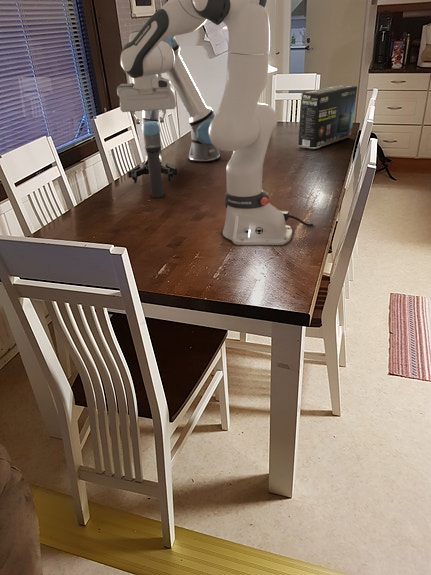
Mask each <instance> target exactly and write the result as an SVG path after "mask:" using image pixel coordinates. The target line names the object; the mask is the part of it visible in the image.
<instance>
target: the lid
mask: <svg viewBox="0 0 431 575" xmlns="http://www.w3.org/2000/svg"><path fill="white" fill-rule="evenodd" d="M159 151H160V147H159V145H148V146H146V152H148V153H155V152H159Z"/></svg>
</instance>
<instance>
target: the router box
mask: <svg viewBox="0 0 431 575" xmlns="http://www.w3.org/2000/svg"><path fill="white" fill-rule="evenodd" d="M357 93H358V86H356V85H350V84H339V85H338V84H337V85H334V86H328V87H324V88H318V89H314V90H309V91H304V92H301V93H300V109H299V110H300V111H299V124H298V137H297V146H298V145H302V146H307V147H317V146H320V145H323V144H325V143H328V142H331V141H333V140H336V139H338V138H341V137H344V136H347V135H351V136H352V133H353V132H352V131H353V125H354V115H355V109H356V99H357ZM311 151H313V150H312V149H311Z"/></svg>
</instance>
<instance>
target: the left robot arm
mask: <svg viewBox="0 0 431 575" xmlns="http://www.w3.org/2000/svg"><path fill="white" fill-rule="evenodd" d="M162 41H163V42H167V43H168V44H169V45H170V46H171V47H172V49H173V51H174V56H175V62H174V66H173V68H172V69H171V71H169V72H166V73H165V75H166V76H167V79H169V80H170V82H171V86H172V87H173V88H174V91H175V92H176V94H177V96H178V98H179V100H180V102H181V104H182V106H183V107H184V109H185V111H186V112H187V115H188V120H187V121H188V123H189V126H190V137H191V145H190V149H189V152H188V160H189V161H190V162H192V163H198V164H200V163H201V164H202V163H204V164H205V163H212V162H217V161H218V160H220V159H221V157H220V156H221V155H220V154H221V153H220V150H218V149H217V148H215V147H214V145H213V144H212V142H211V140H210V138H209V125H210V123H211V121H212V120H213V118H214V117H215V115H216V114H215V113H216V112H215V110H214V109H213V108H212V107H210V106H207V105H206V103H205V100H204V99H203V97H202V95H201V93H200V91H199V89H198V87H197V86H196V83H195V81H194V79H193V77H192V75H191V74H190V72H189V70H188V68H187V66H186V64H185V62H184V61H183V58H182V56H181V55H180V51H181V46H180V44H179V42H178V40H177V38H176V36H173V37H169V38H167V39H164V40H162ZM162 75H163V73H162V74H158V77H162ZM162 78H163V77H162ZM141 112H142V114H141V125H140V131H141V133H142V137H143V145H144V154H145V160H144V165H142V166H141V165H140V164H137V165H136V166H135V167H133V168H132V169H130V170H128V171H127V176H128V178H129V179H131V180H133V182H134V184H137V182H138V177H141V176H143V175H149V167H148V158H147V152H146V146H148V145H159V147H160V151H159V155H160V165H161V174H164V175H167V176H168V177H167V178H168V182H171V178H173V177H174V176H177V175H178V168H177V167H175V166H173V165H171V164H170V163H165V165H163V158H164V156H163V155H164V154H163V151H162V150H163V149H162V141H161V129H160V122H159V119H160V116H159V115H160V110H150V111H141Z"/></svg>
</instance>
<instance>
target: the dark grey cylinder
mask: <svg viewBox="0 0 431 575" xmlns="http://www.w3.org/2000/svg"><path fill="white" fill-rule="evenodd" d="M147 158H148V167H149V174H148V175H149V184H150V185H149V186H150V193H151V197H152V198H163V197H164V188H163V178H162V177H163V176H162V173H161V165H160V155H159V152H155V153H148V152H147Z"/></svg>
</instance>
